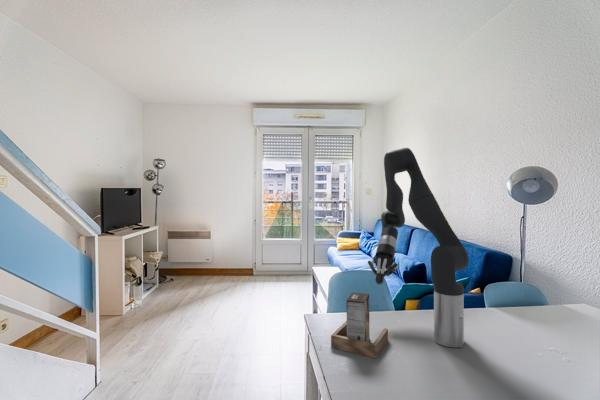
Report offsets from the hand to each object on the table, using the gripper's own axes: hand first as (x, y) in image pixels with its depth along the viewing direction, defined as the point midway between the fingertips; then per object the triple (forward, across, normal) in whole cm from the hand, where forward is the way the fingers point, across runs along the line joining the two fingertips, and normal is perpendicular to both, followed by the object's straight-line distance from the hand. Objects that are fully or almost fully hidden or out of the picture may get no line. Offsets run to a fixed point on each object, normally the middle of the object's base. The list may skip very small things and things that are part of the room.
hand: (378, 283), depth 130 cm
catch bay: (+26, 0, -5) cm, 27 cm away
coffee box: (+26, -1, -5) cm, 27 cm away
